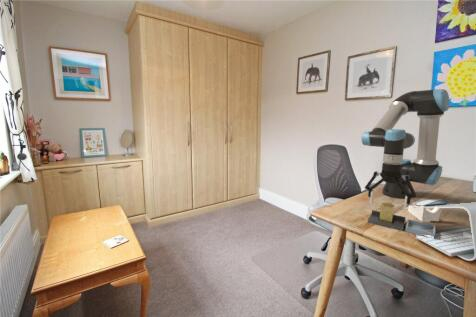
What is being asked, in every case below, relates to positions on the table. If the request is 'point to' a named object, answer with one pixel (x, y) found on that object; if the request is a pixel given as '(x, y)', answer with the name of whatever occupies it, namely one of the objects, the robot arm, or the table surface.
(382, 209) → the mustard yellow block
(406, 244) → the table surface
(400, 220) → the dark grey shallow tray
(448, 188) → the table surface
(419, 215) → the bracket
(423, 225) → the tray
